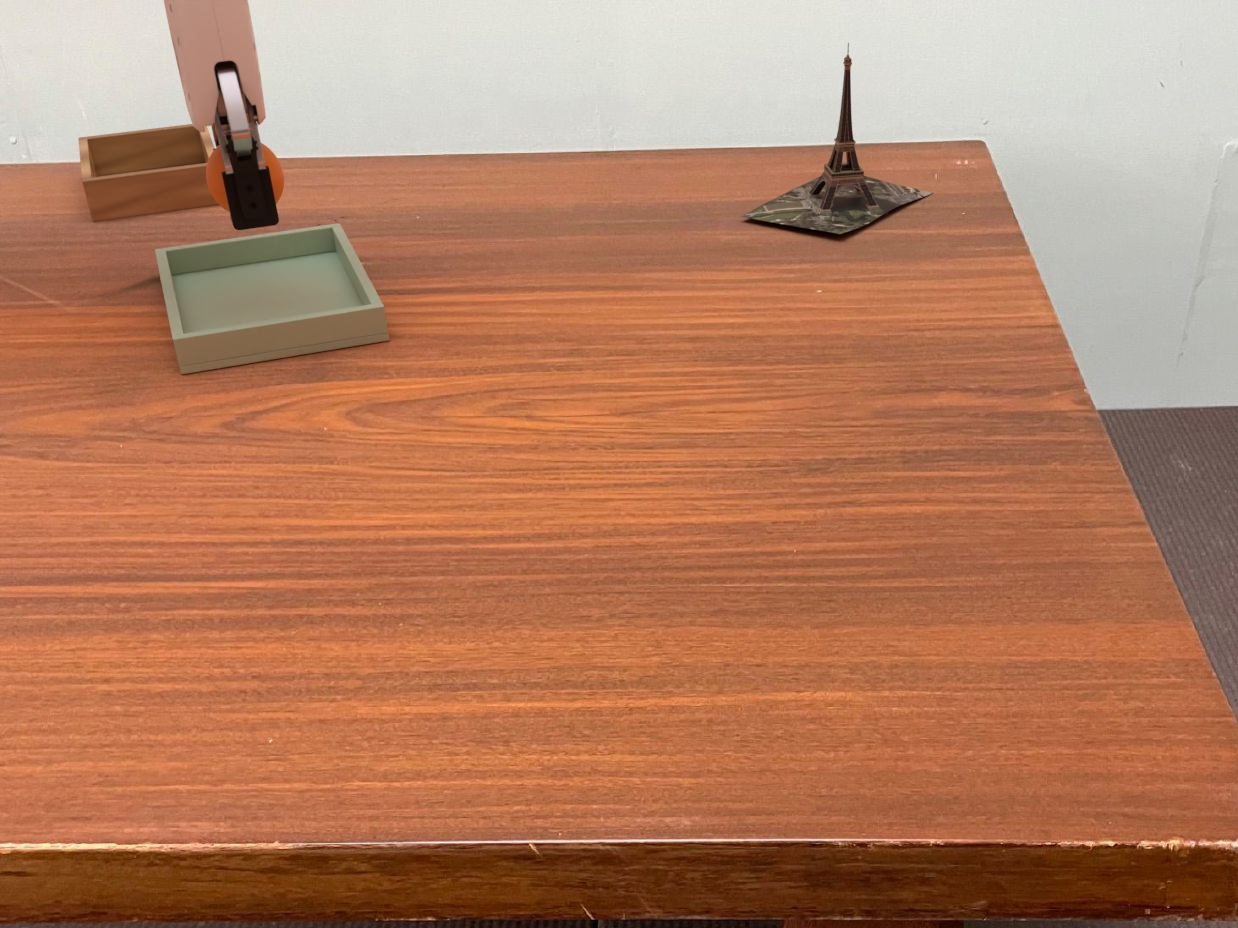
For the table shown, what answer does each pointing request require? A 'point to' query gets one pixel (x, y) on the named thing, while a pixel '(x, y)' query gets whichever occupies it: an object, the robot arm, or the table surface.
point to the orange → (217, 167)
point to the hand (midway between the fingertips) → (251, 211)
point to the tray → (268, 298)
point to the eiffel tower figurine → (838, 187)
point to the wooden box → (146, 171)
